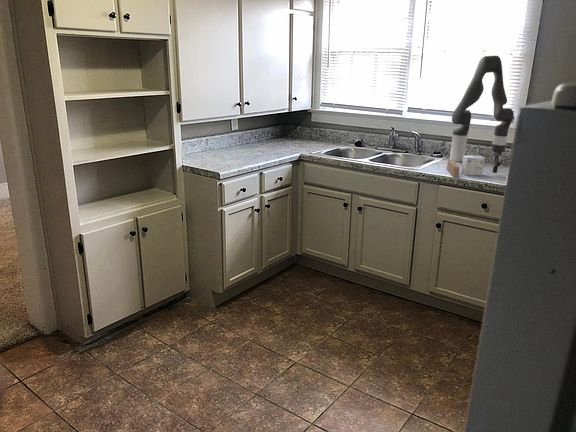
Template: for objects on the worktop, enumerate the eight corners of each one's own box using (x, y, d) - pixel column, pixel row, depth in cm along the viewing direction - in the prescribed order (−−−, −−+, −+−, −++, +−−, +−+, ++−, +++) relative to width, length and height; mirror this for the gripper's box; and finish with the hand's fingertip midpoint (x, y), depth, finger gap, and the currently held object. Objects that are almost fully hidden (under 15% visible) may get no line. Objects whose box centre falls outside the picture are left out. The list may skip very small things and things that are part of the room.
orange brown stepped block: (446, 169, 295) (447, 159, 293) (451, 169, 295) (453, 159, 293) (453, 177, 277) (454, 166, 275) (458, 177, 276) (459, 167, 274)
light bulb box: (477, 173, 288) (480, 155, 284) (482, 175, 282) (485, 157, 278) (460, 172, 287) (462, 155, 284) (464, 175, 281) (467, 157, 278)
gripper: (489, 141, 284) (485, 169, 289) (495, 145, 271) (490, 175, 277) (502, 141, 283) (498, 170, 288) (509, 145, 270) (504, 175, 276)
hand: (494, 172), depth 282 cm, fingers closed
